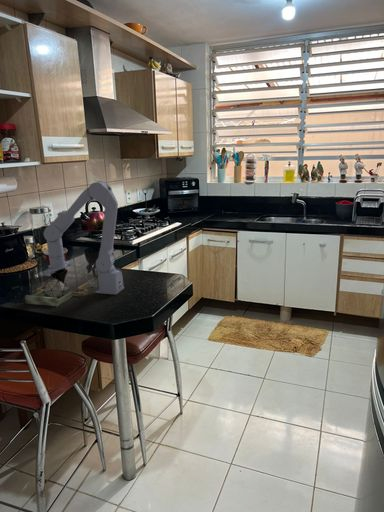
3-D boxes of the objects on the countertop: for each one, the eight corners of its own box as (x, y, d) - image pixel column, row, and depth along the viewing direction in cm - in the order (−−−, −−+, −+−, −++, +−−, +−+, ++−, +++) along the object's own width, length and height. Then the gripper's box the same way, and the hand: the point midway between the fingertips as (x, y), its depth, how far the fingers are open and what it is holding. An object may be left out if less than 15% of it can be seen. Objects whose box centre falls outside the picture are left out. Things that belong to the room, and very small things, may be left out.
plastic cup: (51, 279, 171) (48, 254, 168) (43, 274, 179) (39, 250, 176) (74, 274, 178) (71, 249, 175) (65, 269, 186) (61, 246, 183)
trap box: (97, 286, 159) (96, 280, 159) (66, 307, 139) (65, 299, 138) (53, 283, 166) (52, 277, 165) (17, 302, 146) (16, 295, 145)
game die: (56, 304, 152) (57, 281, 155) (70, 300, 147) (71, 276, 151) (37, 300, 145) (38, 276, 148) (51, 296, 140) (52, 271, 144)
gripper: (59, 250, 157) (63, 281, 161) (35, 259, 144) (40, 292, 148) (73, 251, 155) (77, 282, 159) (51, 260, 142) (56, 294, 146)
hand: (60, 287), depth 153 cm, fingers closed
